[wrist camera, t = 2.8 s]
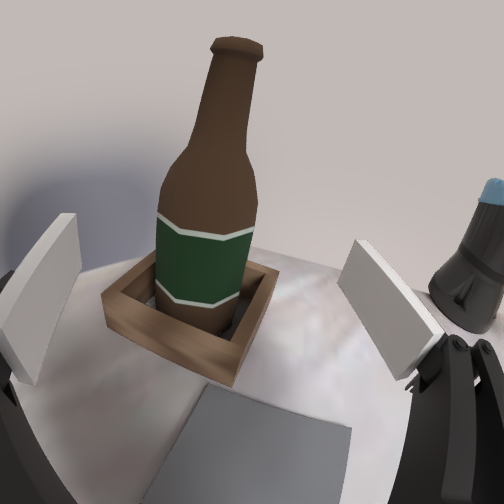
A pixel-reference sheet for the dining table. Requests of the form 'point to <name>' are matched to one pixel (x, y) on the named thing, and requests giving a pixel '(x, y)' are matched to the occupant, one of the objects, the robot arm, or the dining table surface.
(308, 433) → the coaster
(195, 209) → the beer bottle
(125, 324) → the caddy
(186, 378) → the dining table surface
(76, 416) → the dining table surface
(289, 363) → the dining table surface
